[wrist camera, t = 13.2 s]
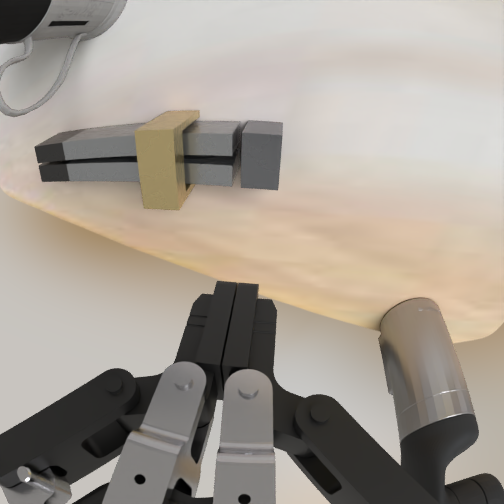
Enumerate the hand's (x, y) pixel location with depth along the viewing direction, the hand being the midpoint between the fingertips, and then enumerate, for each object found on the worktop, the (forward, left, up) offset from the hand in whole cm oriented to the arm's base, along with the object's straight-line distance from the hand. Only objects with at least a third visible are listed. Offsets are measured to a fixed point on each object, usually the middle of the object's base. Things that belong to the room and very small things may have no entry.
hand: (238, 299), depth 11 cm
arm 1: (-1, +12, -19) cm, 23 cm away
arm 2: (-3, +12, -19) cm, 23 cm away
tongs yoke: (0, 0, -19) cm, 19 cm away
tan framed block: (-1, +8, -19) cm, 20 cm away
